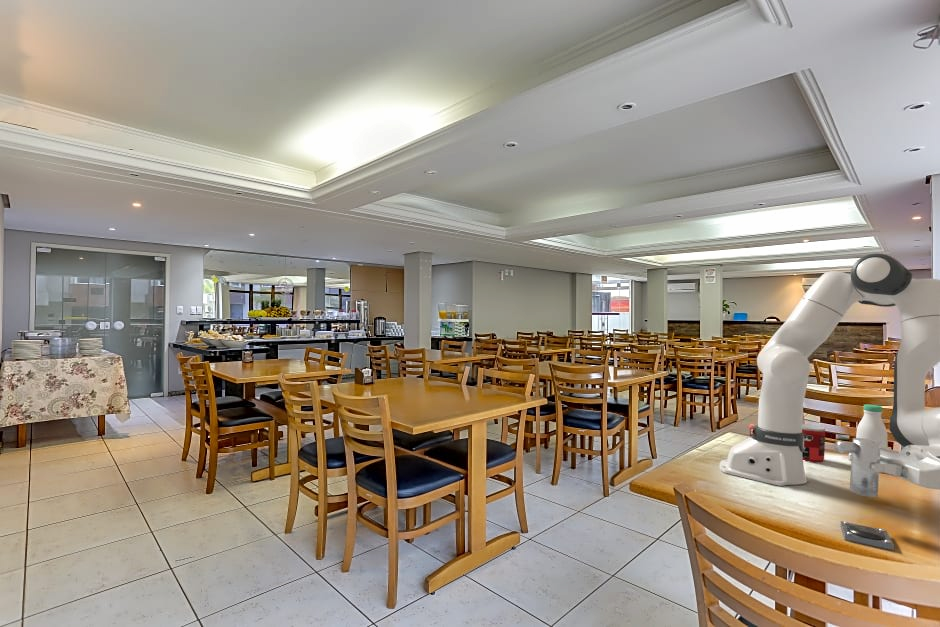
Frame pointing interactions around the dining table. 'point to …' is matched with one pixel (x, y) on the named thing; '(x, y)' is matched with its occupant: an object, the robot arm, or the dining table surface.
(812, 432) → the canned food
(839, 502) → the dining table surface
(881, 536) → the duct flange
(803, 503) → the dining table surface
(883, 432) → the milk bottle
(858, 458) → the grey pipe with spout
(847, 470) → the dining table surface
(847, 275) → the robot arm
